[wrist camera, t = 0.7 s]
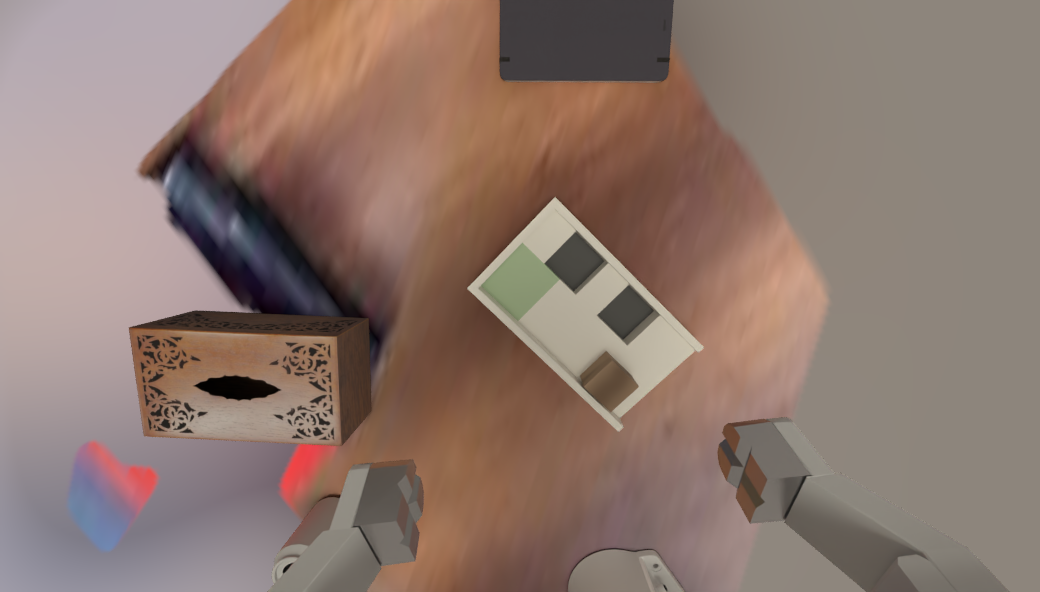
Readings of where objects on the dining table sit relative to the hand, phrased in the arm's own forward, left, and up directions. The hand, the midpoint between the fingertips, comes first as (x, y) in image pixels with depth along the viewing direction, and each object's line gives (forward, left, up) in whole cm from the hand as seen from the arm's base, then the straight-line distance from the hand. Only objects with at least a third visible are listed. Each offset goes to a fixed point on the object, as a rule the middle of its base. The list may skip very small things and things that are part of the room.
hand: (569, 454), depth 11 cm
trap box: (-9, 0, -47) cm, 47 cm away
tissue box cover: (+17, +36, -47) cm, 62 cm away
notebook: (+17, -26, -47) cm, 56 cm away
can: (-5, +50, -47) cm, 69 cm away
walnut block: (-17, +4, -43) cm, 47 cm away
